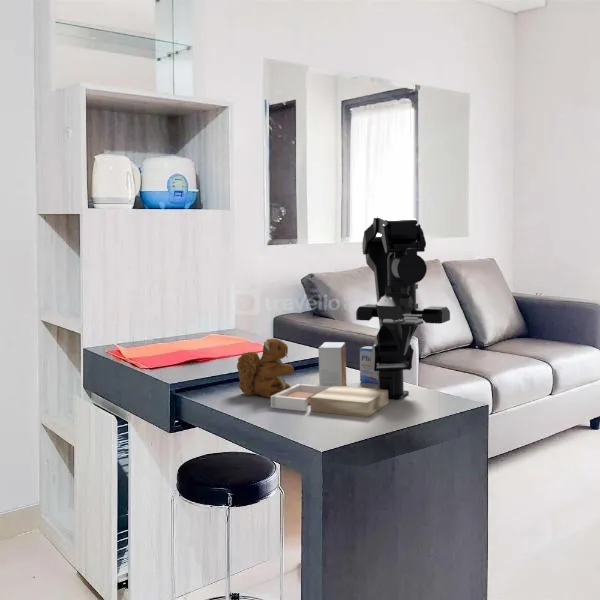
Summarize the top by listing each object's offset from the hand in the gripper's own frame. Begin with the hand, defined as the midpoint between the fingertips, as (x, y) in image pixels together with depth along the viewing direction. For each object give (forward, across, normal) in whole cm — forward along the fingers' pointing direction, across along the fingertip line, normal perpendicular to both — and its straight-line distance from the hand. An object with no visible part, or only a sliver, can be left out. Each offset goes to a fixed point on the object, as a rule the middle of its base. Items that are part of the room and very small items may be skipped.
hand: (402, 354), depth 151 cm
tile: (+10, -24, -1) cm, 26 cm away
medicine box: (+12, -16, +24) cm, 31 cm away
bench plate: (+12, -12, -1) cm, 17 cm away
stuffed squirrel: (+12, -36, +2) cm, 38 cm away
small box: (+12, -24, +14) cm, 31 cm away
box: (+12, -23, -2) cm, 26 cm away
